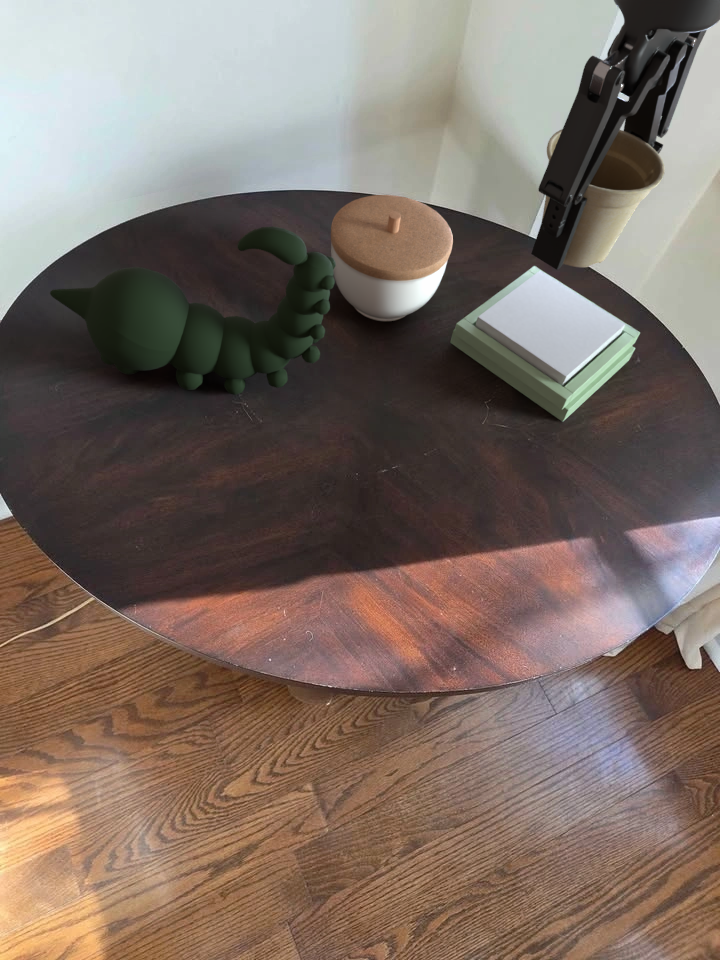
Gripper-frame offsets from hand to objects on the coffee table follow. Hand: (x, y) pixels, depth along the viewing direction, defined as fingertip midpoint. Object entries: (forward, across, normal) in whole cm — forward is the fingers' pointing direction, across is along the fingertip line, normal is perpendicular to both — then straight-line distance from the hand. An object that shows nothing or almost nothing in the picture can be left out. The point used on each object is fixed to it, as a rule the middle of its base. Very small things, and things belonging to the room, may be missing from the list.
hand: (575, 237), depth 68 cm
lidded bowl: (+18, +3, -18) cm, 25 cm away
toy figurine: (+18, +25, -23) cm, 38 cm away
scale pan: (+15, -4, -1) cm, 15 cm away
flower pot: (+1, 0, 0) cm, 1 cm away
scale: (+18, -4, -1) cm, 18 cm away
